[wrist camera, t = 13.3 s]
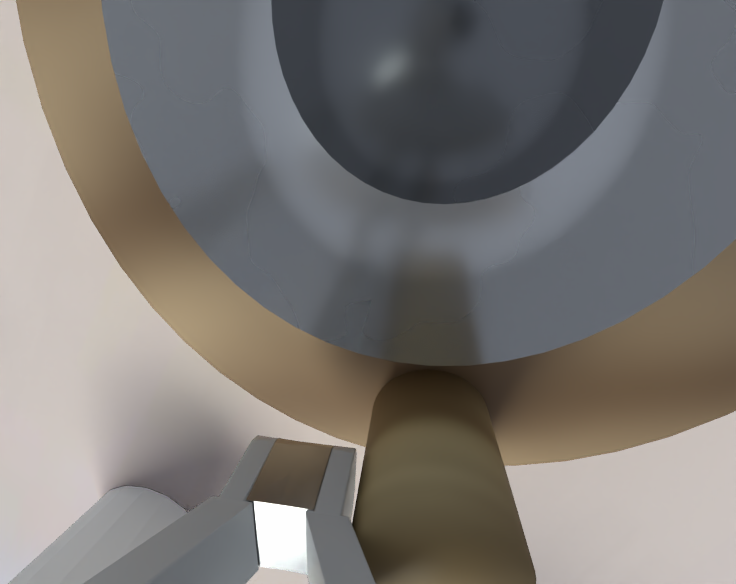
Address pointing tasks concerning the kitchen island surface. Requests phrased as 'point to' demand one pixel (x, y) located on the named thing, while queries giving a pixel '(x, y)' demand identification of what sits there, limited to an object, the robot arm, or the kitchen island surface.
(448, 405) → the turntable
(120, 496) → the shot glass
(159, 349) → the kitchen island surface
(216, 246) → the cover
